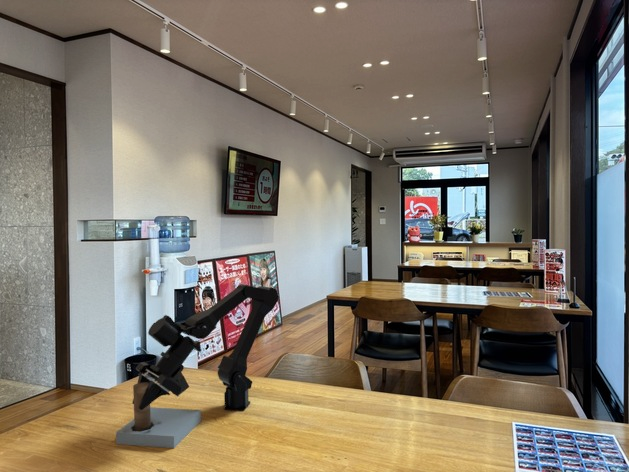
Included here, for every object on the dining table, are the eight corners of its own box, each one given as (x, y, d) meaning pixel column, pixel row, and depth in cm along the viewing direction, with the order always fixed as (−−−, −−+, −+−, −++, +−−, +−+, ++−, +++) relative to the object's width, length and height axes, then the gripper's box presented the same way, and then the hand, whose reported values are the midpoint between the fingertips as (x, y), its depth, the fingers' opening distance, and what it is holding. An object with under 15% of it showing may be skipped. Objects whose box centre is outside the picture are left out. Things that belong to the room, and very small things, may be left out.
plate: (201, 420, 126) (200, 410, 126) (174, 448, 110) (173, 436, 110) (149, 417, 129) (149, 407, 129) (116, 444, 113) (116, 432, 113)
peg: (152, 426, 118) (151, 381, 118) (148, 433, 114) (147, 387, 114) (137, 426, 118) (135, 382, 118) (132, 434, 114) (131, 388, 114)
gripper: (211, 379, 119) (173, 432, 112) (180, 364, 133) (145, 411, 126) (183, 356, 114) (141, 411, 107) (154, 343, 128) (115, 391, 120)
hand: (136, 406), depth 115 cm, fingers closed on peg, 4 cm apart
